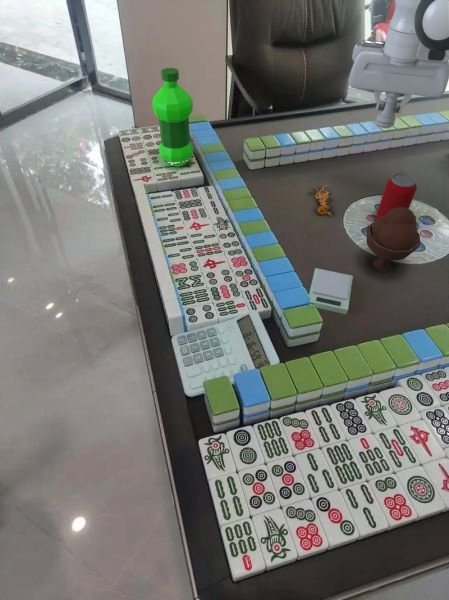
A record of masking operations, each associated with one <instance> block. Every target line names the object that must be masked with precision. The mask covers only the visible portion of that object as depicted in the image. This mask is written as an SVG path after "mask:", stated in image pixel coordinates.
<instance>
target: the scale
mask: <svg viewBox="0 0 449 600" xmlns="http://www.w3.org/2000/svg"><path fill="white" fill-rule="evenodd" d="M353 279H354V275H351V274H347V273H341V272H337V271H331V270H327V269H321V268H317V267H315V268H314V271H313V276H312V280H311V285H310V288H309V293H308V297H310V298H311V301H312V303H313V305H314V306H315V307H316V309H320V310H324V311H329V312H334V313H338V314H341V315H347V314H348V311H349V307H350V299H351V293H352V286H353ZM315 307H314V308H315Z"/></svg>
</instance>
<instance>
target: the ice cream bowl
mask: <svg viewBox="0 0 449 600" xmlns="http://www.w3.org/2000/svg"><path fill="white" fill-rule="evenodd" d="M416 224H417V216H416V215H415V213H414V211H413V210H411V209H410V208H409V209H408V208H405V207H398V208H395V209H392V210H391V211H389V212H388V213H387V214H386V216H383V217H381V218H379V219H376V218H375V220H374V221H373V222H371V223H369V224H368V225H366V245H367V247H368V248H369V249H370V251H371V252H372V253H374V255H376V257H377V259H376V260H374V261H373V262H374V263H373V265H374V267H376V268H377V269H379V270H381V271H386V270H389V269H390V268H391V263H390V262H389V261H400V260H405V259H406V258H408V257H409V256H410V255H411V254H412V253H414V252H416V250H418V249H419V247H420V246H421V237H420V235H421V234H420V233H419V231H418V230H417V227H416ZM378 258H379V259H378Z"/></svg>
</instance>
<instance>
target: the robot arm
mask: <svg viewBox="0 0 449 600" xmlns="http://www.w3.org/2000/svg"><path fill="white" fill-rule="evenodd" d="M351 60H352V62H353V65H352V67H351V70H350V72H349V73H350V74H349V78H348V82H347V83H348V86H349V87H350V88H351V89H358V90H367V91H374V93H373V95H374V99H375V102H376V105H375V111H376V112H381V111H382V109H383V106H384V103H385V100H381V96H382V93H383V92H384V93H385V92H392V93H400V95H402V94H403V99H402V100H401V101H400V102H396V105H395V110H394V114H400V115H401V114H402V111H403V108H404V107H405V106H406V105H407V104H408V102H410V101H411V99H412V96H420V97H429V98H441V96H443V95H444V94H445V93H446V89H447V86H448V81H449V0H394V11H393V15H392V17H391V19H390V21H389V24H388V28H387V32H386V35H385V39H384V41H383V40H382V41H381V40H369V39H363V40H362V41H360V42H357V43H356V44H355V45H354V47H353V50H352V55H351Z"/></svg>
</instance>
